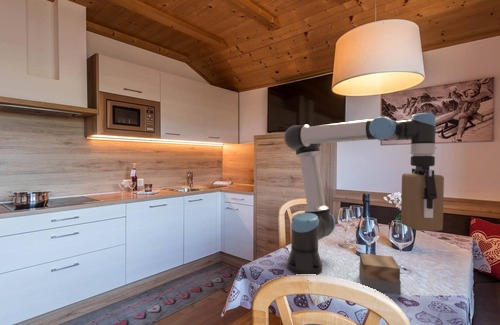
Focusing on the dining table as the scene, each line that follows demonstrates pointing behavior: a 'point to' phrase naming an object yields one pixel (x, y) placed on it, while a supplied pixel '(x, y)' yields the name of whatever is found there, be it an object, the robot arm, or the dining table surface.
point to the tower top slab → (379, 267)
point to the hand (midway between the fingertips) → (421, 214)
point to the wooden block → (421, 203)
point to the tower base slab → (381, 284)
